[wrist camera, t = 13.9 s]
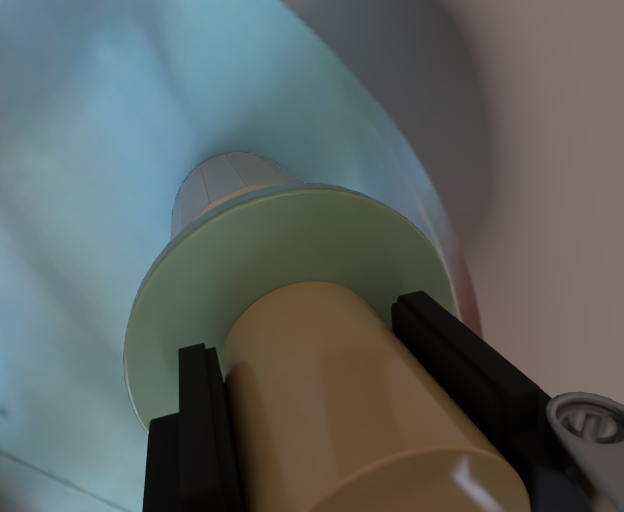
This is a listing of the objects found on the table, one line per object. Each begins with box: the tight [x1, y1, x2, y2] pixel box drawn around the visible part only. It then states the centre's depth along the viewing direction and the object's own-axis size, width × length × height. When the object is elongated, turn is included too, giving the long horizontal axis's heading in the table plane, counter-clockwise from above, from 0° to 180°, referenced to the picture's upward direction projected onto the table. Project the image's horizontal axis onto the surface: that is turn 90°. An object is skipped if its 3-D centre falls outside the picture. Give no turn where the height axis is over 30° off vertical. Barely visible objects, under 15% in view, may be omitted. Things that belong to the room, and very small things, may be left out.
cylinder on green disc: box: [123, 183, 531, 512], centre depth 9 cm, size 8×8×7 cm
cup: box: [170, 152, 305, 241], centre depth 20 cm, size 7×7×8 cm
